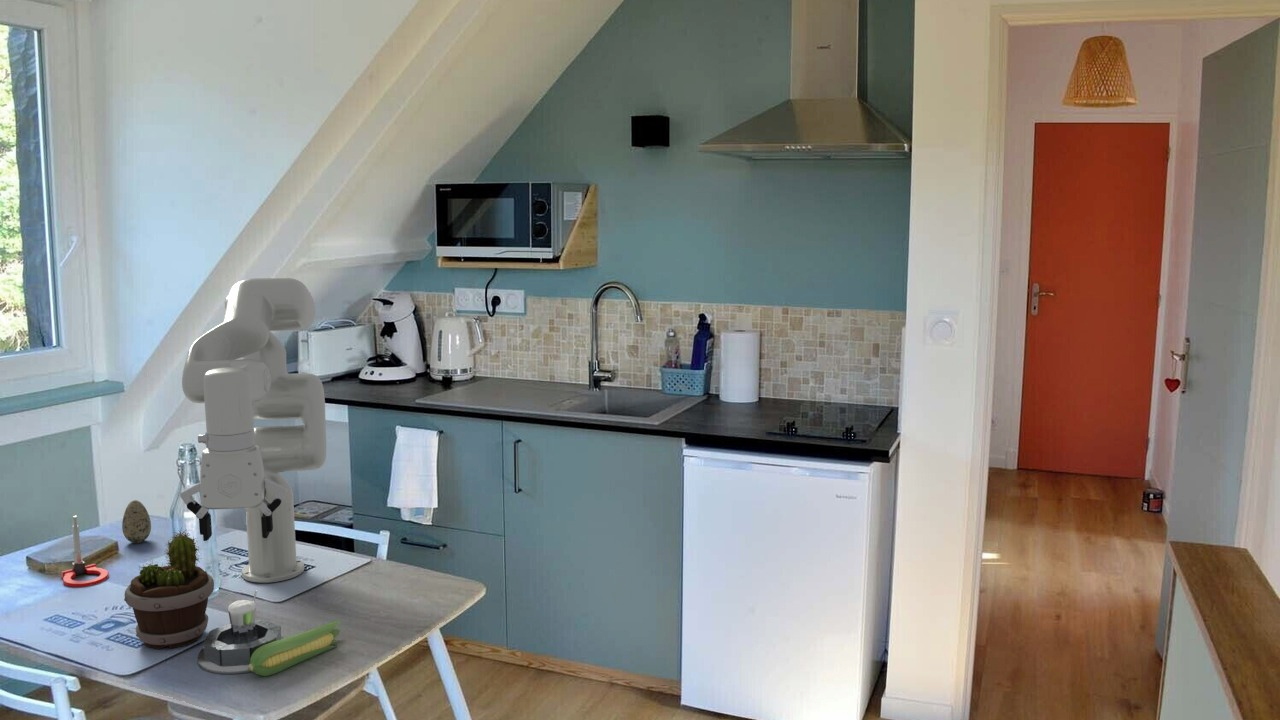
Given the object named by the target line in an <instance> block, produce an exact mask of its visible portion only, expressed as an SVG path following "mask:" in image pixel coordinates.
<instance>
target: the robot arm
mask: <svg viewBox="0 0 1280 720" xmlns="http://www.w3.org/2000/svg"><path fill="white" fill-rule="evenodd" d="M315 307H316V306H315V302H314V297H313V295H312V293H311V292H310V291H309V289H308V288H307V286H306V285H305V284H304V283H303V282H302V281H300V280H299V279H295V278H292V277H291V278H289V277H288V278H287V277H285V278H284V277H283V278H282V277H281V278H280V277H279V278H277V277H275V278H257V277H256V278H246V279H242V280H239V281H237V282H236V283H235V284H234V285H233V286H232V287H231V288H230V291H229V293H228V295H227V296H226V298H225V301H224V309H225V310H224V315H223V319H222V323H220V324H219V325H216V326H215V327H213V328H212V329H210V330H209V331H207V332H206V333H204V334H203V335H201V336H200V337H198V338H197V339H196V340H195V341H194V342H193V343H192V345H191V346H190V347H189V349H188V351H187V355H186V360H185V362H184V366H183V370H182V378H181V379H182V380H181V385H182V386H181V388H182V391H183V394H184V396H185V397H186V399H187V400H189V401H190V402H192V403H195V404H204V412H205V413H204V414H205V428H206V432H205V433H203V434H198V437H197V442H198V443H199V444H205V447H206V448H205V449H203V450H202V452H201V461H200V474H199V475H200V476H199V478H200V479H199V481H200V482H198V483H195V484H194V485H193V484H192V486H190V487H188V488H186V489H184V490H182V491H181V493H180V494H179V496H180V499H181V500H182V501H183V503H184V504H185V505H186V508H187V510H189V511H190V512H191V513H192V514H194V515H195V517H196V518H197V519H198V524H199V527H198V529H199V534H200V535H202V538H203V542H208V541H209V539H210V538H211V537H212V535H213V531H212V530H213V527H212V516H211V515H212V514H210V512H209V510H231V509H233V510H234V509H235V510H236V509H237V510H238V509H245V517H246V519H245V520H246V521H245V522H246V536H247V540H246V541H247V554H248V555H247V556H248V564H246V565H245V566H244V567H243V568H242V569H241V577H242V578H243V579H244V580H245V581H248V582H253V583H260V584H262V583H263V584H265V583H267V584H268V583H278V582H283V581H287V580H291V579H293V578H296V577H297V576H298V577H299V575H301V574H302V573H303V572H304V570H305V562H304V561H302V560H300V559H299V558H297V545H296V528H295V508H294V491H293V488H292V486H291V484H290V483H289V482H288V480H287V479H286V477H284V475H282V474H281V473H285V472H287V473H288V472H301V471H302V472H303V471H304V472H305V471H314V470H315V471H316V470H318V469H320V468H322V467H323V466H324V464H325V462H326V459H327V427H326V426H327V425H326V422H327V421H326V400H325V399H326V398H325V390H324V384H323V382H322V380H321V379H320V378H319V377H318V376H317V375H316V374H313V373H303V372H302V373H301V372H300V373H298V372H297V373H289V372H288V370H287V368H288V367H287V351H286V348H285V346H284V345H283V343H282V342H281V341H280V340H279V338H278V337H277V336H276V335H275V334H274V333H273V332H277V331H278V332H279V331H283V332H284V331H305V330H307V329H309V328H310V327H311V326H312V324H313V323H314V320H315V316H316V315H315V314H316V308H315ZM242 358H243V359H242ZM254 419H255V420H261V421H262V420H263V421H265V420H266V421H267V420H268V421H270V420H271V421H273V420H274V421H275V420H276V421H277V420H300V421H301V422H302V423H303V424H301V425H300V424H299V425H271V426H270V425H267V426H256V427H255V425H254V422H255V421H254ZM197 493H200V494H199V496H200V503H199V502H197V501H196V500H195V499H194V497H193V496H194V495H195V494H197Z"/></svg>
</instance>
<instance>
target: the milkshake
mask: <svg viewBox="0 0 1280 720" xmlns="http://www.w3.org/2000/svg"><path fill="white" fill-rule="evenodd" d="M257 594H258V591H257V590H255V591H254V595H253V598H252V600H247V599H238V600H236V601H234V602H232V603H231V604H229V605H228V607H227V610H228V611H227V612H228V617H229V622H230V624H231V631H232V638H233V644H248V643H251V642H253V641H255V620H256V615H257V614H256V613H257V612H256V611H257V604H256V603H255V600H256V596H257Z"/></svg>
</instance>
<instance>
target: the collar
mask: <svg viewBox="0 0 1280 720" xmlns="http://www.w3.org/2000/svg"><path fill="white" fill-rule="evenodd" d="M284 638H285V637H284V636H282V627H281V625H278V624H276V623H273V622H271V621H268V620H265V619H255V641H253V642H251V643H248V644H233V638H232V631H231V624H230V623H228V624H224V625H220V626H219V627H216V628H212V629H211V630H209V632H208V633H207V636H205V638H204V641H203V648H201V650H200V651H199V652H198V654H197V665H198V667H200V668H201V669H202V670H203V671H204V672H205V671H206V672H208V673H210V674H211V673H212V674H216V675H242V674H248V673H254V672H253V671H251V670H250V669H249V664H250V658H251V655H252V654H253V653H254V651H255V650H256V649H258V648H259V647H261V646H263V645H265V644H268V643H271V642H274V641H277V640H281V639H284Z"/></svg>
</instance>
